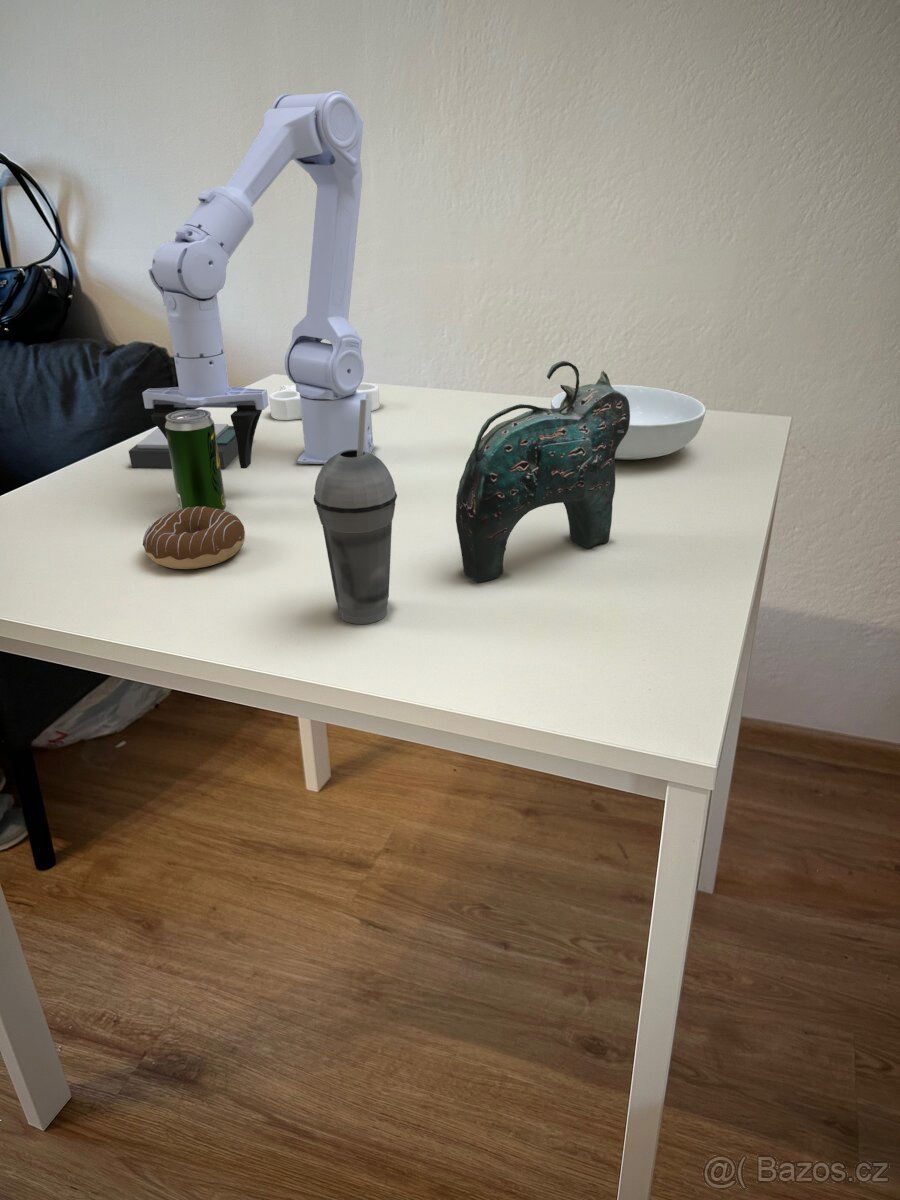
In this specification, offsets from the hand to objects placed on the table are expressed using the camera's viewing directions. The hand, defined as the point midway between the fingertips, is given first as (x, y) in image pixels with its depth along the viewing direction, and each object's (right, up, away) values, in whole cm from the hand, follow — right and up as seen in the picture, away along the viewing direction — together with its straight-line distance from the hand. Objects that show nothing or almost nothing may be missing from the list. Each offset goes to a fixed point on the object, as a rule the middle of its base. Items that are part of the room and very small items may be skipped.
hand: (215, 465), depth 106 cm
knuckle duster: (+8, +15, +37) cm, 40 cm away
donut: (+2, -12, -13) cm, 18 cm away
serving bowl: (+53, +4, +16) cm, 56 cm away
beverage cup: (+21, -18, -25) cm, 37 cm away
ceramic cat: (+39, -12, -15) cm, 43 cm away
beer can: (0, -7, -4) cm, 7 cm away
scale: (-8, +4, +16) cm, 19 cm away
